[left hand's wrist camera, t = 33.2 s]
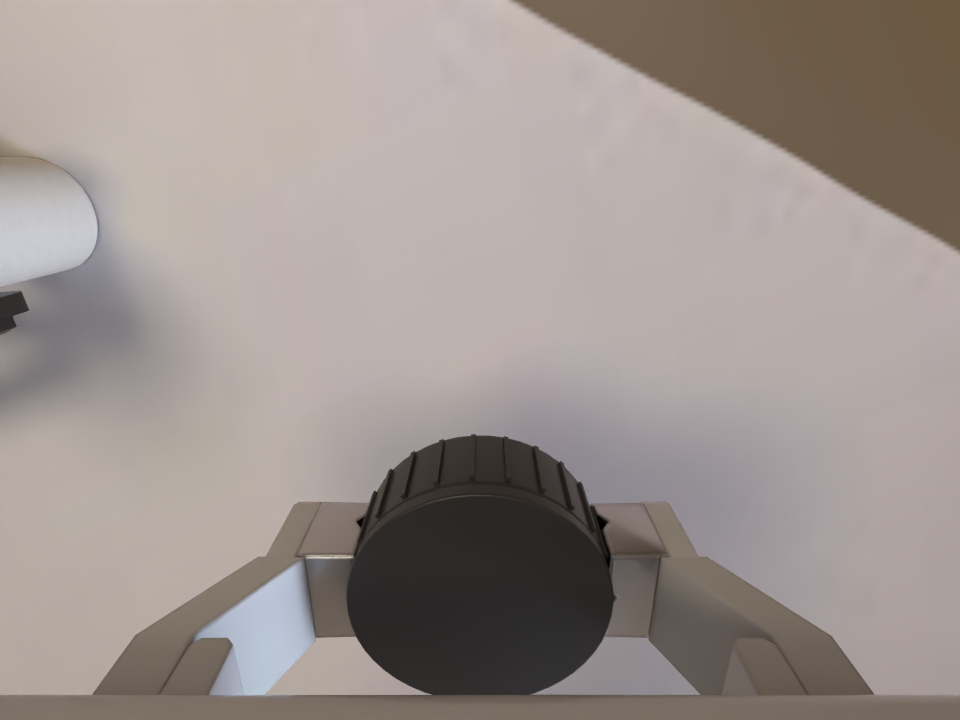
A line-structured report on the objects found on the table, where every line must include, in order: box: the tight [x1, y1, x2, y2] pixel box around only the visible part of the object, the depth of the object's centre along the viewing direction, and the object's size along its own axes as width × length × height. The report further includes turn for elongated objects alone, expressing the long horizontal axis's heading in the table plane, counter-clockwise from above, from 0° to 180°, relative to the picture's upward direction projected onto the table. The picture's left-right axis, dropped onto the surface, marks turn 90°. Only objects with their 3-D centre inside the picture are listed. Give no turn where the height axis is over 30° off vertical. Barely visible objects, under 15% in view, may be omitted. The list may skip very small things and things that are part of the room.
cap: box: [346, 434, 614, 695], centre depth 10 cm, size 4×4×2 cm
